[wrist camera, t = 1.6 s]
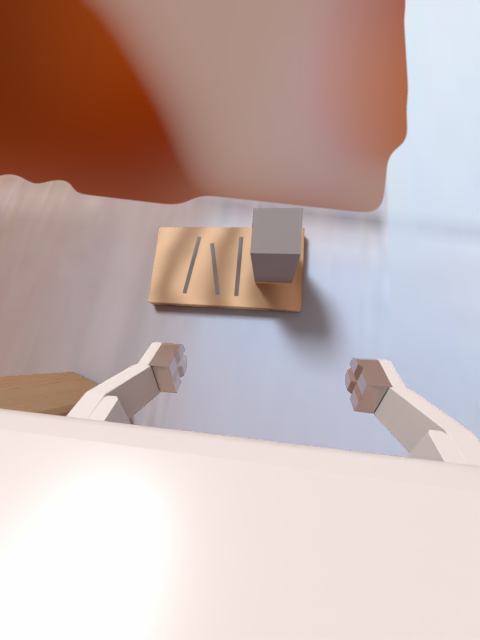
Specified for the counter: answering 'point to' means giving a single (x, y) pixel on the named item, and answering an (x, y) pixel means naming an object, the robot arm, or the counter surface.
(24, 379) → the wooden block
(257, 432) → the counter surface
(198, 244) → the board
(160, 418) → the counter surface
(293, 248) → the block
